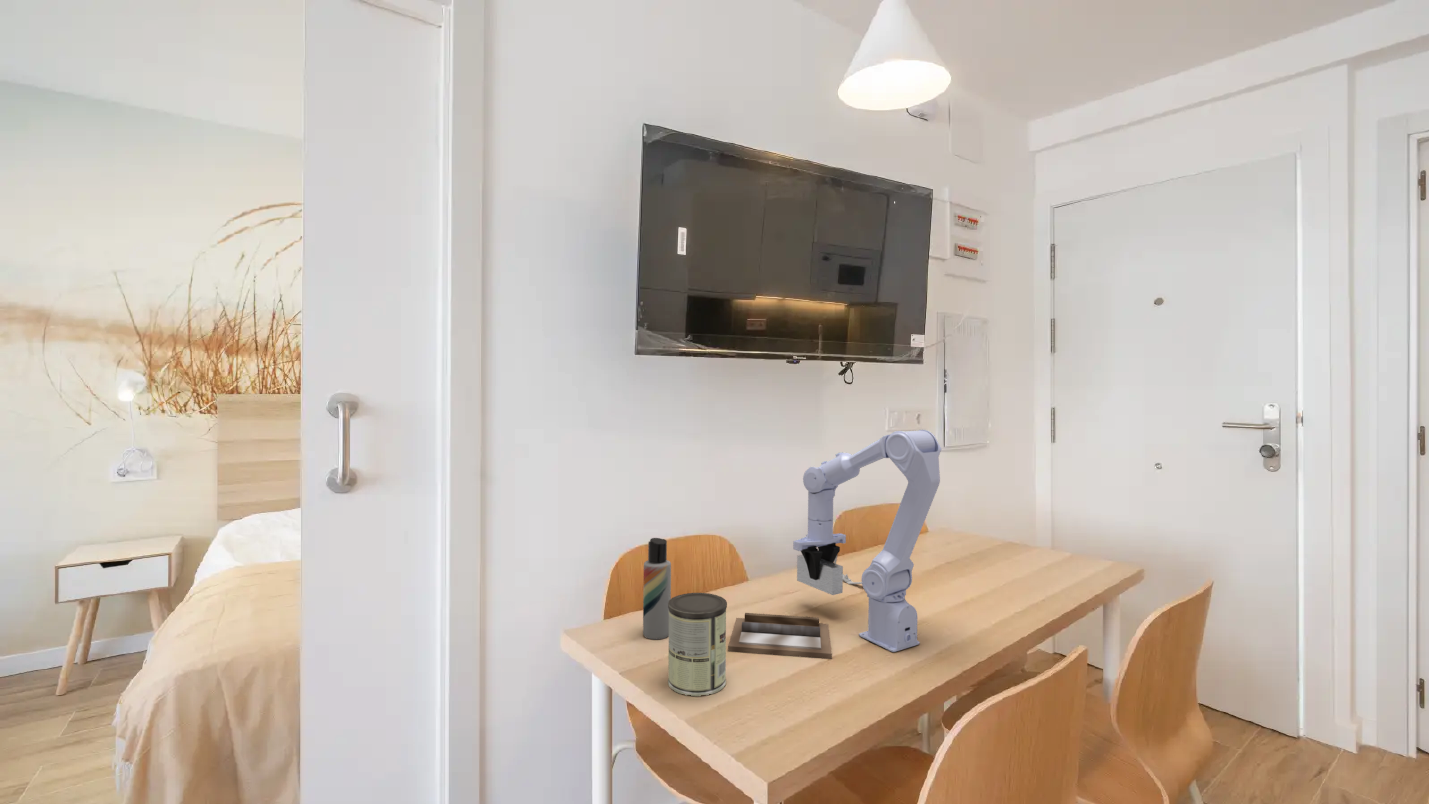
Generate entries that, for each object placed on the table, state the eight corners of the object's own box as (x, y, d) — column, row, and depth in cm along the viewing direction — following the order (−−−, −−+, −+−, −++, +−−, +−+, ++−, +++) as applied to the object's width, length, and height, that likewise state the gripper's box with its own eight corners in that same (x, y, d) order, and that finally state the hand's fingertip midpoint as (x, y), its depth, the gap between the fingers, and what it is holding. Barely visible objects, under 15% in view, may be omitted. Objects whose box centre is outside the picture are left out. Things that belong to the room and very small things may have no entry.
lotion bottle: (656, 626, 128) (657, 534, 128) (675, 633, 124) (676, 539, 124) (637, 635, 124) (638, 539, 123) (656, 642, 120) (657, 544, 120)
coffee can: (668, 668, 109) (669, 592, 109) (724, 668, 109) (725, 592, 109) (665, 697, 98) (666, 612, 98) (727, 697, 99) (728, 612, 99)
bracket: (871, 582, 152) (832, 555, 164) (867, 602, 153) (828, 574, 165) (876, 581, 153) (837, 554, 165) (872, 601, 154) (833, 573, 166)
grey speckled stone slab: (842, 592, 133) (842, 566, 133) (832, 595, 131) (833, 568, 131) (806, 578, 143) (806, 553, 143) (797, 580, 141) (797, 555, 141)
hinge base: (828, 628, 128) (828, 614, 128) (831, 658, 113) (831, 643, 113) (736, 622, 131) (736, 608, 131) (728, 651, 116) (728, 636, 116)
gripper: (831, 512, 144) (830, 568, 144) (784, 518, 136) (784, 577, 136) (852, 517, 138) (851, 576, 138) (805, 524, 130) (804, 586, 130)
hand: (819, 577), depth 137 cm, fingers closed on grey speckled stone slab, 3 cm apart
